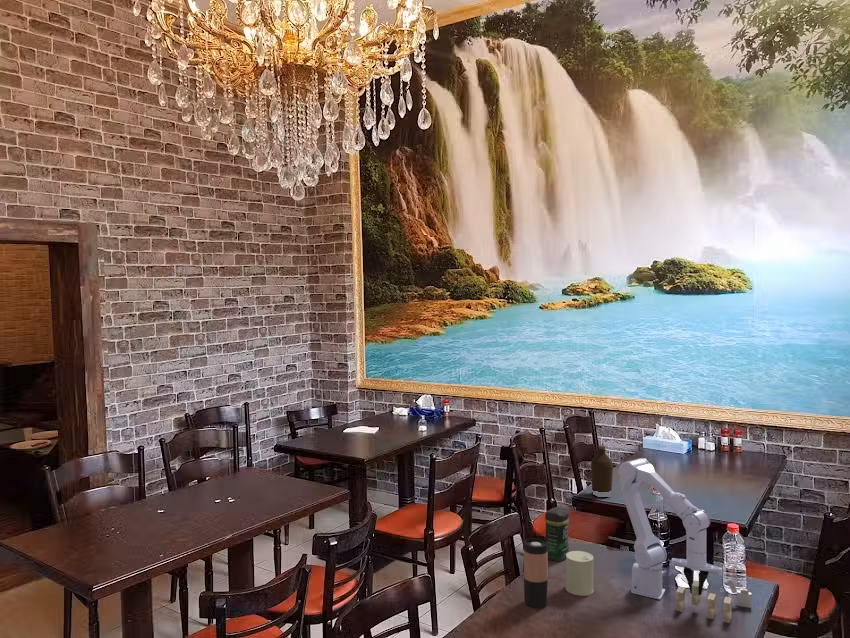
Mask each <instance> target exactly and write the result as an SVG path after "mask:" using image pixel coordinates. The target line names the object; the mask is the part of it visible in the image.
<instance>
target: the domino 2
mask: <svg viewBox="0 0 850 638" xmlns="http://www.w3.org/2000/svg"><path fill="white" fill-rule="evenodd" d="M700 602H701V595H699V580H696V579H694V582H693V584H692V593H691V605H693V606H697V607H698V606H699V605H700Z"/></svg>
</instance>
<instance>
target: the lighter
mask: <svg viewBox="0 0 850 638" xmlns="http://www.w3.org/2000/svg"><path fill="white" fill-rule="evenodd" d="M726 583H727V584H728V586H729V588H730V591H731V592H732V594H735V593H736V606H737V607H742V608H750V609H752V592H750V591H749V589H746V588H740V590H739V589H738V590H737V588H736V585H735V583H734V581H733V580H732V578H731V577H729V578H726Z"/></svg>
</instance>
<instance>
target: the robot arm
mask: <svg viewBox="0 0 850 638" xmlns="http://www.w3.org/2000/svg"><path fill="white" fill-rule="evenodd" d="M617 473H618V476H619V488H620V490H621V495H622V498H623V501H624V503H625V507H626V511H627V513H628V516H629V519H630V521H631V525H632V528H633V531H634V534H635V537H636V539H635V542H634V545H633V550H634V560H635V562H634V563H633V565H632V568H631V591H630V593H631V594H634V595H638V596H642V597H646V598H651V599H656V600H662V597H663V596H664V594H665V592H666V588H663V566H664V562H666V560H667V557H668V555H667V551H666V548H665V547H664V546H663V545H662V543H661V540H660V538H658V537H657V536H656V535H654V533H653V530H652V527H651V525H650V521H649V519H648V515H647V512H646V509H645V506H644V503H643V501H642V497H641V494H640V491H639V489H638V488H639V486H640V484H641V483H646V484H649V486H650V487H652V488H653V489H654V490H655V491H656V492H658V494H659V495H661V496H662V497H663V498H664V499H665V500H666V504H667V505H666V506H667V507H668V508H670V510H672V512H673V513H674V514H676V516H678V517H679V518H680V519H681V520H682V524H683V525H682V526H683V528H684V529H685V534H686V557H685V558H686V559H685V558H675V557H672V558H671V563H670V564H671V567H674V568H675V567H678V568H683V571H682V572H683V575H684V577H685V579H686V581H687V583H688V587H689V592H690V594H692V584H693V582H694V580H695V579H694V578H695V577H694V575H695V572H696V571H697V572H699V573H698V581H699V595H700V596H702V594H703V588H704V585H705V582H706V581H707V578H708V577H709V574H713V575H717V576H718V577H722V574H723V567H720V566H716V565H714V564H710V563H708V562H707V528H709V526H710V525H711V518H710V515H709V514H708V513H707V512H706V511H705V510H704V509H699V508H698V507H697V506H696V505H693V504H692V502H691V501H690V500H688V499H687V497H686V495H685V494H684V493H681V492H676V491H674V490H673V489H672V488H671V486H669V484H667V482H666V481H664V479H663V478H662V476H660V475H659V474H658V473H657V472H656V470H655V468H654V466H653V464H652V463H650V462H649V461H648V460H647V458H644V457H639V458H637V459H633V460H629V461H623V462H622V463H621V464H620V465H619V467H618V469H617Z"/></svg>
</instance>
